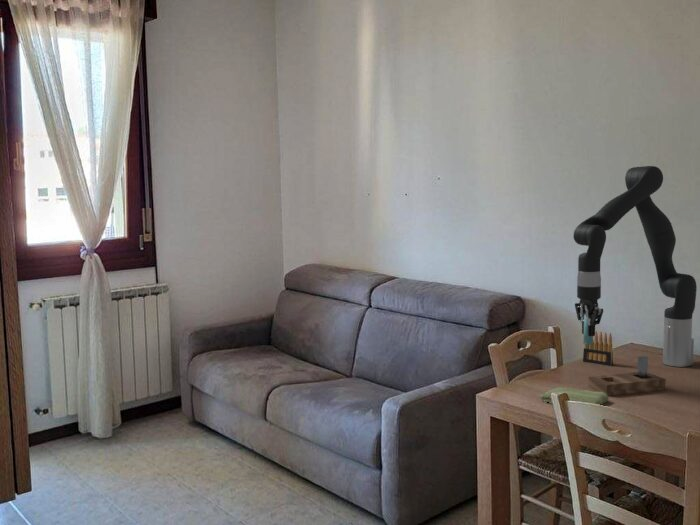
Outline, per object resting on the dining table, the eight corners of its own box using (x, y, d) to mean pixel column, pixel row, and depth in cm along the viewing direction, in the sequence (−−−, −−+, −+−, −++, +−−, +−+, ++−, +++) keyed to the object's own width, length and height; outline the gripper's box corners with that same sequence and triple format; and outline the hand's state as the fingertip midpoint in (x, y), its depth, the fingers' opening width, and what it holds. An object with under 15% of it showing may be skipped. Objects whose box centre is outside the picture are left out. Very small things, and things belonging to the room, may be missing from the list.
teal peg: (589, 342, 245) (589, 313, 244) (594, 344, 242) (595, 315, 241) (581, 343, 244) (582, 314, 243) (586, 345, 242) (587, 315, 240)
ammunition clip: (613, 365, 263) (613, 332, 262) (611, 366, 262) (611, 333, 261) (584, 360, 270) (585, 329, 269) (582, 361, 269) (583, 330, 268)
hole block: (645, 381, 241) (645, 371, 241) (665, 389, 232) (665, 379, 231) (588, 387, 236) (588, 376, 236) (606, 395, 226) (606, 385, 226)
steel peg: (643, 385, 237) (644, 355, 236) (649, 387, 234) (650, 357, 233) (635, 386, 236) (636, 356, 235) (641, 388, 234) (642, 358, 232)
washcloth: (554, 393, 232) (554, 383, 232) (609, 402, 221) (610, 392, 221) (537, 403, 222) (538, 393, 221) (595, 413, 211) (595, 403, 211)
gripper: (611, 286, 235) (610, 338, 237) (586, 280, 249) (586, 330, 251) (591, 287, 233) (590, 340, 235) (567, 282, 247) (567, 331, 249)
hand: (588, 334), depth 243 cm, fingers closed on teal peg, 3 cm apart
